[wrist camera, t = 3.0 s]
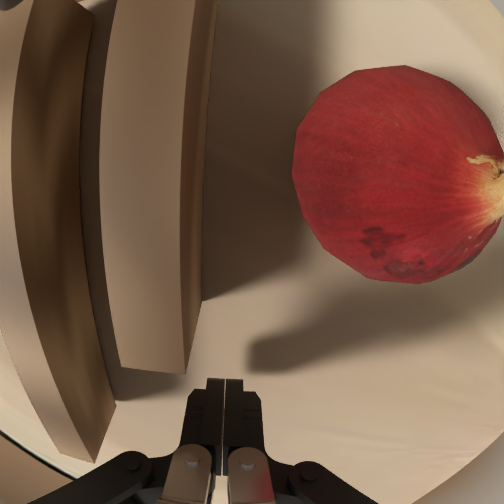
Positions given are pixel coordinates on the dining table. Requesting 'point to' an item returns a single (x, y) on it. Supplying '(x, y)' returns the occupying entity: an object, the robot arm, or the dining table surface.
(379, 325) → the dining table surface
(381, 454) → the dining table surface
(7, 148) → the bar
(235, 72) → the dining table surface
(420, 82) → the onion
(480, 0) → the dining table surface
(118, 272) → the wooden hinge stand
